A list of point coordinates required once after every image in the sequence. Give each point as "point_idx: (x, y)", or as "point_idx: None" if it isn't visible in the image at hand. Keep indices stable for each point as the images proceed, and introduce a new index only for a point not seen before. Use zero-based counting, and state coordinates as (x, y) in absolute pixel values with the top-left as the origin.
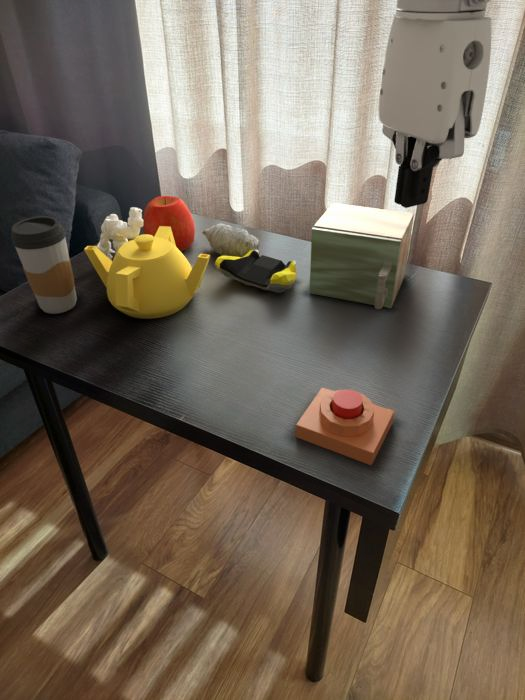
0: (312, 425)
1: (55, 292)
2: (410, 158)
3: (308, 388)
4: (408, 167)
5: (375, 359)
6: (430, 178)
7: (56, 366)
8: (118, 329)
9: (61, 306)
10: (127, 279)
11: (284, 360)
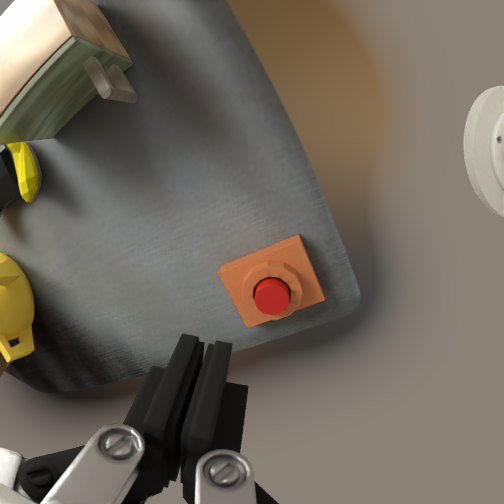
0: (258, 318)
1: (4, 364)
2: (154, 490)
3: (197, 263)
4: (170, 474)
5: (202, 161)
6: (242, 431)
7: (74, 388)
8: (41, 336)
9: None
10: (14, 356)
11: (142, 252)
